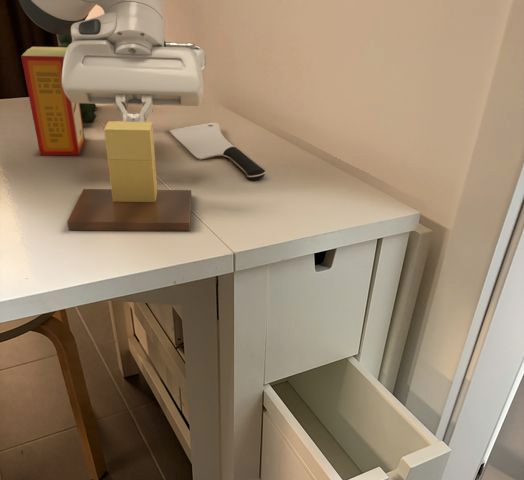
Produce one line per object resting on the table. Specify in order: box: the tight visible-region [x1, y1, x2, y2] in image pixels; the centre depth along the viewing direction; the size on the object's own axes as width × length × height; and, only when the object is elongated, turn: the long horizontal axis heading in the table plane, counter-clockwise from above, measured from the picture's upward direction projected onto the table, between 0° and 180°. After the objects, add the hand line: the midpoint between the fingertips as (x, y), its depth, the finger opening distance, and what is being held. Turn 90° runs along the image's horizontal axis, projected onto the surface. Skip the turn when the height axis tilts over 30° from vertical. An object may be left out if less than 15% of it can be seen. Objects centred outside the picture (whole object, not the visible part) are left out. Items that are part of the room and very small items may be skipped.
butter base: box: [107, 151, 158, 202], centre depth 79 cm, size 6×4×6 cm, turn 94°
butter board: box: [66, 188, 192, 232], centre depth 79 cm, size 16×12×1 cm
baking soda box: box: [20, 46, 86, 156], centre depth 97 cm, size 10×6×16 cm
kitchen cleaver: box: [169, 122, 266, 181], centre depth 102 cm, size 31×2×10 cm
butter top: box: [103, 120, 155, 160], centre depth 76 cm, size 6×4×4 cm, turn 95°
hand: (134, 128), depth 80 cm, fingers closed
